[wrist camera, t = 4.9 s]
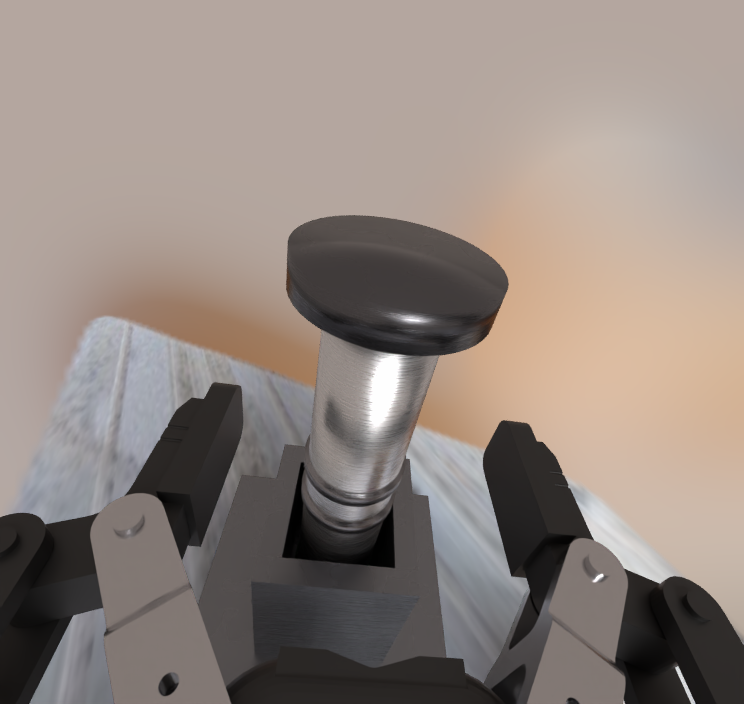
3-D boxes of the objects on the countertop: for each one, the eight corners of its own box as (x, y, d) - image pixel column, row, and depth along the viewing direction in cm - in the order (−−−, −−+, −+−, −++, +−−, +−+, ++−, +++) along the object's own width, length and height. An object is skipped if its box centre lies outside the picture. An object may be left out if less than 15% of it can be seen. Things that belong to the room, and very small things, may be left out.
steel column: (376, 542, 26) (481, 234, 13) (375, 651, 21) (540, 330, 8) (286, 533, 25) (306, 203, 13) (264, 643, 20) (261, 286, 8)
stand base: (423, 506, 30) (461, 419, 24) (449, 767, 19) (532, 722, 13) (242, 486, 29) (236, 390, 23) (155, 752, 18) (101, 696, 12)
